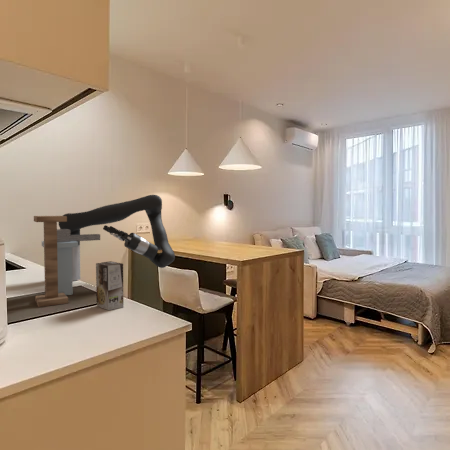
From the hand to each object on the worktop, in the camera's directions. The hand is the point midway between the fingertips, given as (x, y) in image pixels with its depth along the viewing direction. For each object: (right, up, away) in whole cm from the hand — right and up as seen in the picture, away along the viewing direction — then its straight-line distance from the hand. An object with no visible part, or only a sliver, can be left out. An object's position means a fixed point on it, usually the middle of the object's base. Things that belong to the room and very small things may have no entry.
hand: (106, 227), depth 155 cm
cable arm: (-11, -6, -7) cm, 14 cm away
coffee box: (+11, -29, -27) cm, 41 cm away
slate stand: (-16, -28, -9) cm, 34 cm away
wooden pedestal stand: (-14, -29, -22) cm, 38 cm away
